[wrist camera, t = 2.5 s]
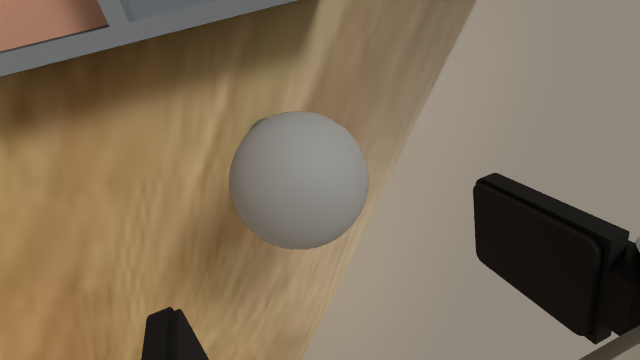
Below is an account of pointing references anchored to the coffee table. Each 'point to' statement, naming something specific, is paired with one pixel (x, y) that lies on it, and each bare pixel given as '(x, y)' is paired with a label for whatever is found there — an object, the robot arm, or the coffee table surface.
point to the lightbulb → (298, 180)
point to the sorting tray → (99, 25)
